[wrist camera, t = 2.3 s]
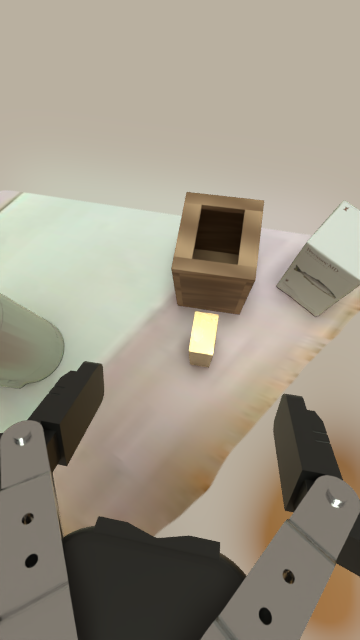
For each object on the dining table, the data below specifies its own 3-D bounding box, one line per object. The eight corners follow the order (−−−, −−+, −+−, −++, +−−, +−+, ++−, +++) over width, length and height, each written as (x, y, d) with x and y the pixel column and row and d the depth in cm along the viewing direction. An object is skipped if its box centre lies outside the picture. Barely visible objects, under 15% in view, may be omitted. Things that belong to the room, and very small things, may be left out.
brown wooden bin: (239, 314, 43) (255, 280, 31) (177, 305, 44) (171, 268, 32) (246, 252, 46) (264, 200, 34) (188, 245, 46) (186, 192, 35)
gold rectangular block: (209, 367, 41) (213, 355, 31) (189, 364, 41) (187, 350, 32) (214, 336, 42) (219, 315, 33) (194, 333, 42) (194, 311, 33)
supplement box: (274, 286, 44) (304, 240, 32) (305, 253, 45) (345, 196, 33) (315, 319, 42) (364, 283, 30) (346, 283, 43) (405, 235, 31)
